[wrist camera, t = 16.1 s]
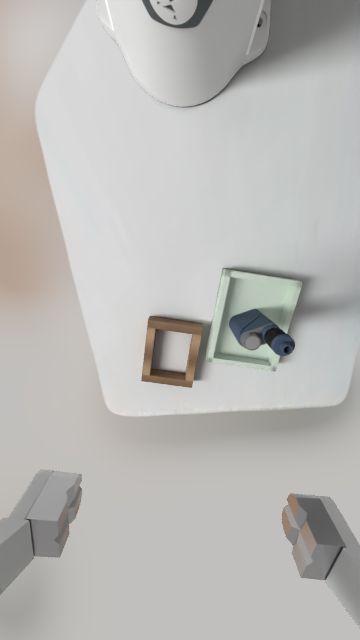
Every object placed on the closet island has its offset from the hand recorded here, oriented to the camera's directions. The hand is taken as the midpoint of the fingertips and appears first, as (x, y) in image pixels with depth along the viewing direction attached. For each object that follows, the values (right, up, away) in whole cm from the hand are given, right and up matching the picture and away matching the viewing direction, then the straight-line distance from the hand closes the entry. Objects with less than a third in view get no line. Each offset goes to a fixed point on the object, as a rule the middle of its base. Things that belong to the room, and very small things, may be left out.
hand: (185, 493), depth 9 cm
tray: (+10, +7, +27) cm, 30 cm away
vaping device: (+10, +7, +27) cm, 29 cm away
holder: (-2, +2, +29) cm, 29 cm away
